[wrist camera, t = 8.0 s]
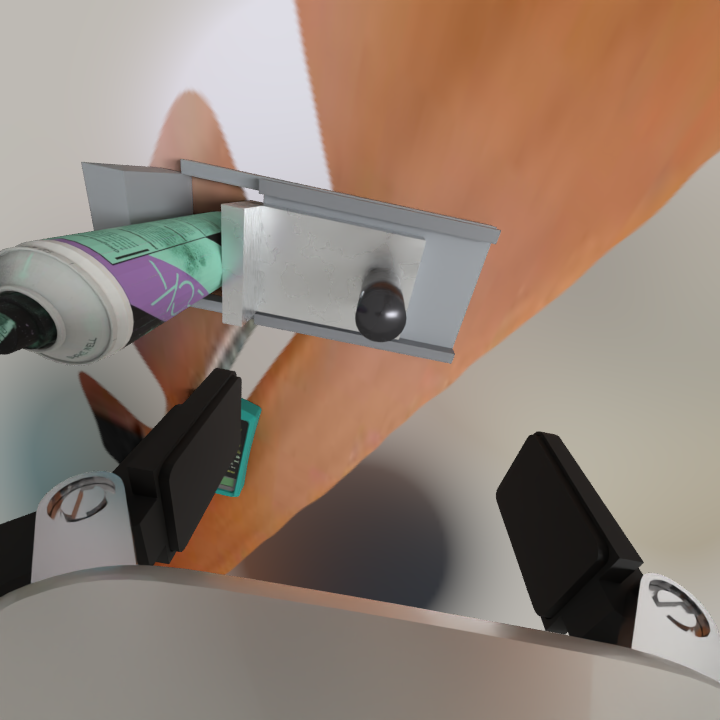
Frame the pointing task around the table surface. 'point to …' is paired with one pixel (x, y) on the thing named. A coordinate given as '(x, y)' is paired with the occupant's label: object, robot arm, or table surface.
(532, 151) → the table surface
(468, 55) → the table surface
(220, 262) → the spray can
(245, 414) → the digital multimeter
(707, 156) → the table surface
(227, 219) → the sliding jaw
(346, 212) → the vise frame
